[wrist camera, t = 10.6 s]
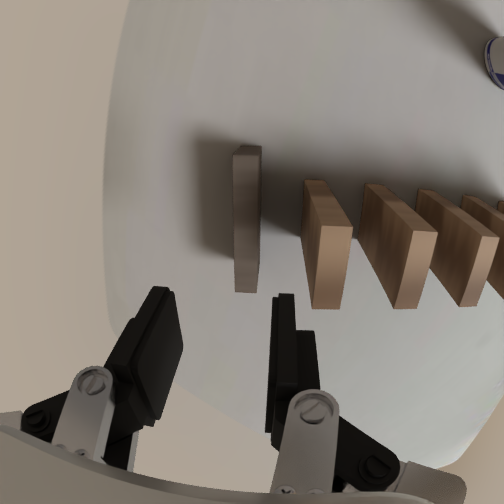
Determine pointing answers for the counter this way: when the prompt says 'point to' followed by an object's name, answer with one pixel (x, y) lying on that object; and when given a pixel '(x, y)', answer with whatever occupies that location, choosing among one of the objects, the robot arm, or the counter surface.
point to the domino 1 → (246, 217)
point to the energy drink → (495, 60)
